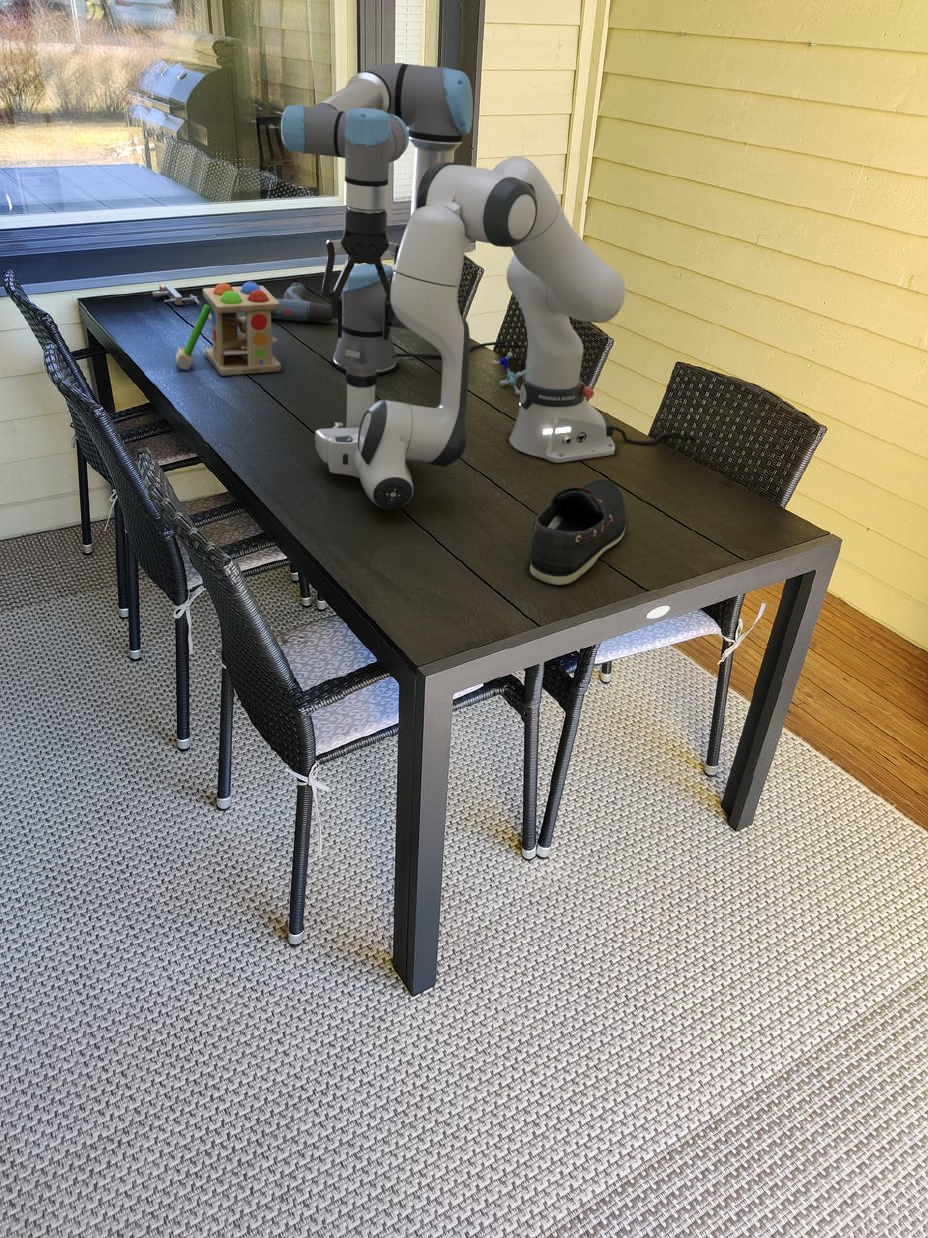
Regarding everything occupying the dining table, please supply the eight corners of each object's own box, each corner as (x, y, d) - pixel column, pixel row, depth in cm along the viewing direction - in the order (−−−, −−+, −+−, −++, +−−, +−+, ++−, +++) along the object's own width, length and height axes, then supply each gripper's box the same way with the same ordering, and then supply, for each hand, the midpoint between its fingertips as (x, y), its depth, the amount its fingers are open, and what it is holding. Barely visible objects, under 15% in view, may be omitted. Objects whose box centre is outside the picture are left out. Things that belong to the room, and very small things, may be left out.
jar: (340, 451, 197) (341, 372, 188) (357, 442, 201) (359, 366, 192) (361, 459, 195) (363, 380, 186) (378, 450, 199) (381, 373, 189)
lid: (339, 381, 189) (339, 370, 188) (359, 373, 193) (359, 363, 192) (363, 389, 186) (363, 379, 185) (383, 381, 190) (383, 371, 189)
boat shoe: (648, 521, 183) (657, 470, 178) (567, 591, 159) (574, 534, 154) (587, 503, 189) (593, 452, 184) (499, 567, 165) (504, 512, 160)
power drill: (344, 304, 276) (335, 327, 259) (277, 298, 275) (264, 321, 258) (344, 285, 273) (335, 306, 256) (277, 279, 272) (264, 300, 255)
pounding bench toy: (183, 379, 220) (176, 299, 210) (169, 357, 231) (162, 280, 221) (282, 371, 230) (280, 294, 220) (264, 350, 240) (262, 276, 230)
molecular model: (536, 387, 225) (523, 344, 224) (499, 400, 229) (485, 359, 227) (549, 385, 235) (536, 345, 234) (513, 399, 239) (500, 359, 238)
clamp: (148, 285, 268) (184, 283, 272) (149, 293, 269) (185, 291, 274) (164, 302, 257) (201, 299, 262) (164, 310, 259) (202, 307, 263)
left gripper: (422, 206, 176) (415, 331, 189) (306, 199, 173) (306, 327, 186) (426, 216, 170) (419, 345, 183) (305, 209, 167) (306, 340, 180)
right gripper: (430, 437, 184) (413, 408, 194) (321, 441, 178) (310, 411, 189) (428, 468, 187) (412, 437, 198) (321, 473, 182) (310, 441, 193)
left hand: (362, 336), depth 185 cm, fingers open, 8 cm apart
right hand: (361, 425), depth 193 cm, fingers open, 8 cm apart
